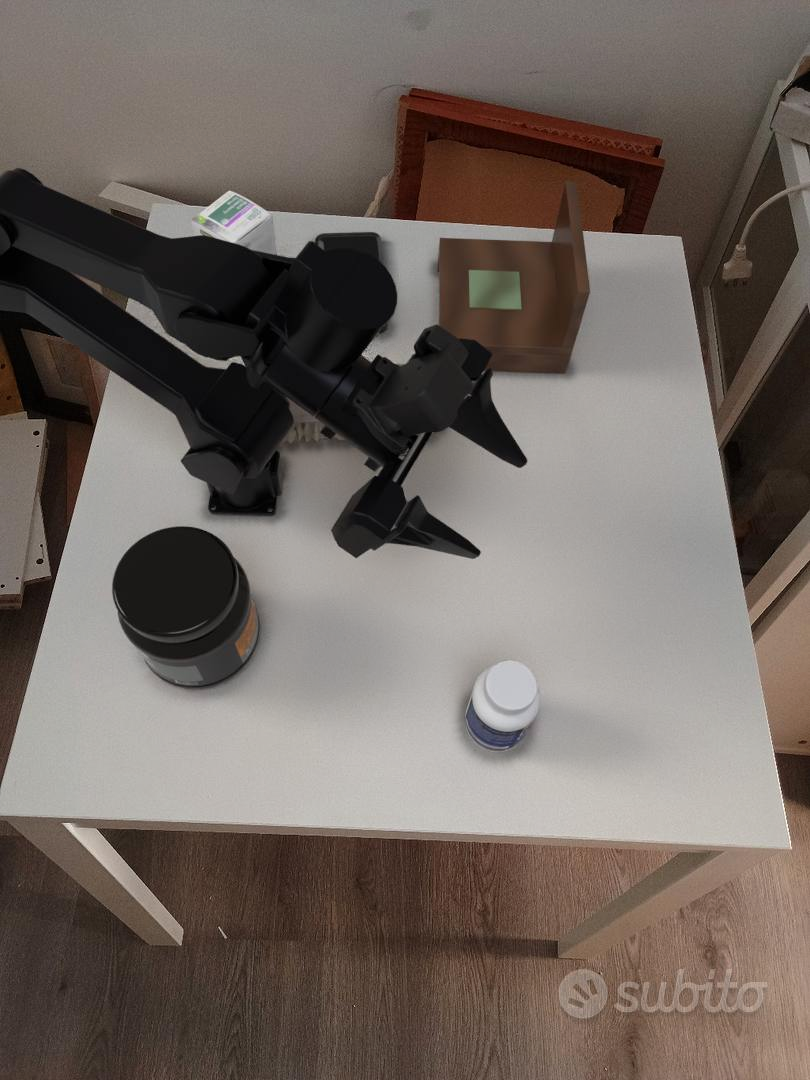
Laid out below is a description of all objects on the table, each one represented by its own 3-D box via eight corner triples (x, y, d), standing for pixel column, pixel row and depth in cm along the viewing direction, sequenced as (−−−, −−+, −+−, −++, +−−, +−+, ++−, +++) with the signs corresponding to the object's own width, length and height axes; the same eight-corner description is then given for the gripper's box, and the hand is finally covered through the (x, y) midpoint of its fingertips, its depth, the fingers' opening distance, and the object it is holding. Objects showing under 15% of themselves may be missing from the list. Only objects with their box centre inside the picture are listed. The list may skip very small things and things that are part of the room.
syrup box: (246, 295, 94) (226, 185, 82) (286, 318, 93) (272, 210, 80) (212, 324, 92) (186, 216, 79) (253, 349, 90) (233, 243, 78)
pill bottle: (522, 759, 69) (542, 726, 61) (459, 746, 70) (470, 711, 61) (530, 699, 72) (551, 658, 64) (469, 686, 72) (482, 644, 64)
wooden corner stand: (437, 369, 90) (445, 286, 79) (437, 264, 98) (444, 176, 87) (565, 373, 90) (590, 291, 80) (555, 269, 98) (576, 181, 87)
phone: (317, 328, 91) (314, 233, 98) (318, 335, 92) (315, 240, 99) (389, 325, 91) (381, 231, 98) (389, 333, 92) (381, 238, 99)
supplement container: (275, 595, 76) (258, 530, 66) (245, 704, 71) (222, 653, 61) (164, 576, 77) (130, 509, 66) (126, 683, 72) (83, 629, 61)
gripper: (308, 436, 49) (510, 582, 52) (440, 243, 58) (607, 379, 61) (259, 495, 59) (432, 615, 62) (378, 322, 67) (525, 436, 70)
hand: (501, 508), depth 64 cm, fingers open, 9 cm apart
